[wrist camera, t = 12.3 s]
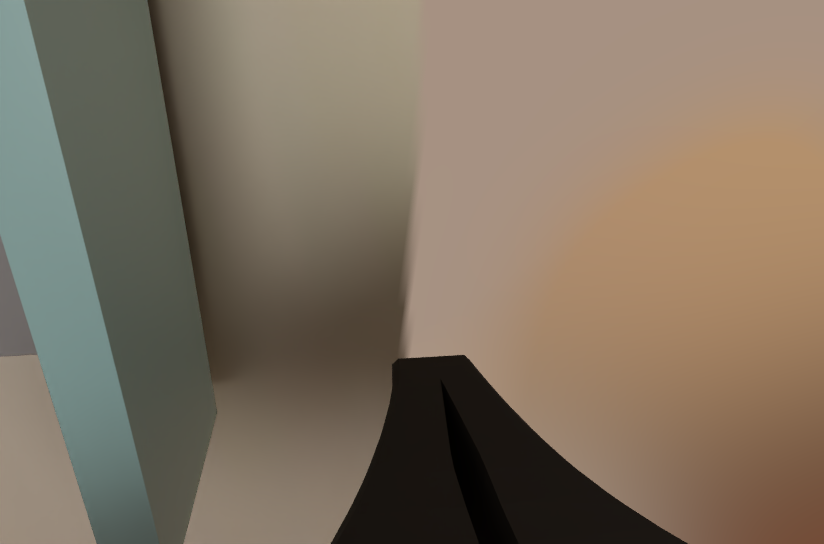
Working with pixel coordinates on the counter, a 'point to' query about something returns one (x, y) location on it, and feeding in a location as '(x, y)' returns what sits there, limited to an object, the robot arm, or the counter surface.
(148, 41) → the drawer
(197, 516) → the counter surface
